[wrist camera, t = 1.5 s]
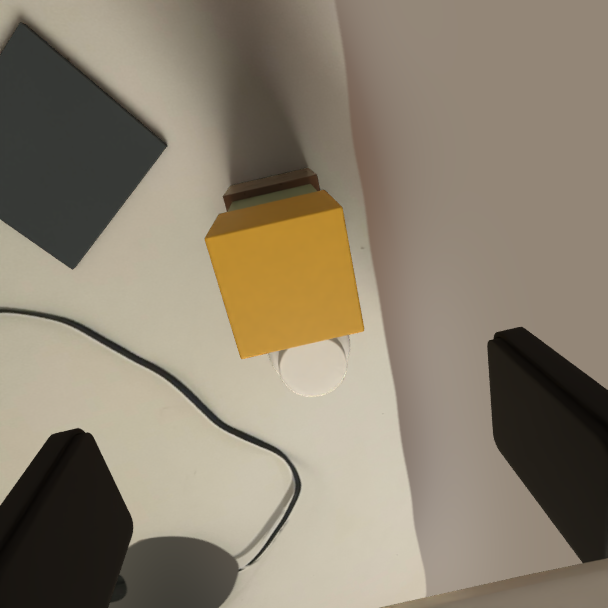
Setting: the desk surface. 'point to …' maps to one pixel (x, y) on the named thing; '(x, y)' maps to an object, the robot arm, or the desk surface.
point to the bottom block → (270, 185)
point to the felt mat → (63, 149)
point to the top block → (285, 273)
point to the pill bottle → (313, 366)
